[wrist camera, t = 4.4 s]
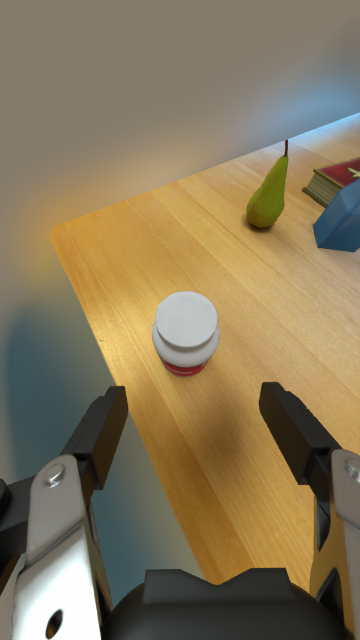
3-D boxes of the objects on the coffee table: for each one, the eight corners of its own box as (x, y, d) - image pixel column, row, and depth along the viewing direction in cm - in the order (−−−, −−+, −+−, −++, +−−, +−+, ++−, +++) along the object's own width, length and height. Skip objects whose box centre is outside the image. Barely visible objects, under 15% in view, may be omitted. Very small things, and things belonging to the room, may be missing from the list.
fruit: (280, 230, 33) (328, 145, 22) (252, 237, 32) (287, 153, 21) (262, 211, 35) (298, 128, 25) (236, 217, 35) (261, 134, 24)
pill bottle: (151, 357, 22) (126, 321, 12) (180, 324, 24) (179, 271, 14) (189, 389, 20) (195, 377, 10) (216, 350, 22) (244, 310, 12)
